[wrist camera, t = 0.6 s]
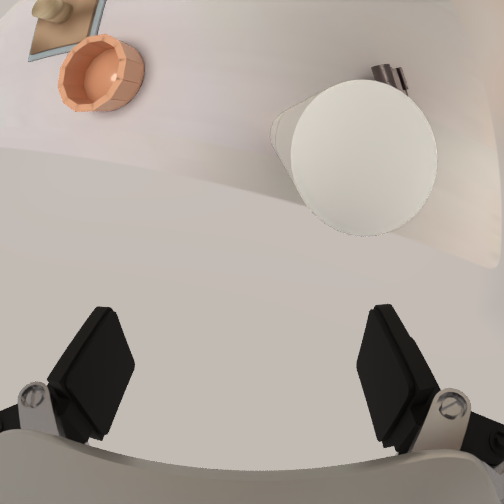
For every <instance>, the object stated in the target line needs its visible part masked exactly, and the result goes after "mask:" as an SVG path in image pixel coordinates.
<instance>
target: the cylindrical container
mask: <svg viewBox="0 0 504 504" xmlns="http://www.w3.org/2000/svg"><path fill="white" fill-rule="evenodd" d="M270 139H271V143H272V146H273V148H274V150H275V151H276V153H277V155H278V157H279V158H280V160H281V162H282V163H283V165H284V167H285V169H286V170H287V172H288V174H289V176H290V178H291V179H292V181H293V183H294V185H295V187H296V188H297V190H298V192H299V194H300V196H301V198H302V199H303V201H304V202H305V204H306V205H307V206H308V208H309V209H310V210H311V211H312V213H313V214H314V215H316V216H317V217H318V218H319V219H320V220H321V221H322V222H324V223H325V224H326V225H328V226H330V227H332V228H334V229H336V230H337V231H340V232H343V233H346V234H349V235H357V236H376V235H380V234H384V233H388V232H390V231H393V230H395V229H397V228H399V227H401V226H402V225H404V224H405V223H406V222H408V221H409V220H410V219H411V218H413V217H414V216H415V215H416V213H417V212H418V211H419V210H420V209H421V208H422V207H423V205H424V203H425V202H426V200H427V198H428V197H429V195H430V192H431V190H432V187H433V185H434V181H435V176H436V172H437V149H436V142H435V138H434V135H433V132H432V129H431V126H430V124H429V123H428V121H427V119H426V117H425V115H424V114H423V112H422V111H421V110H420V108H419V107H418V106H417V105H416V104H415V103H414V101H413V100H411V99H410V98H409V97H408V96H407V95H405V94H404V93H403V92H401V91H400V90H398V89H396V88H394V87H392V86H390V85H388V84H385V83H381V82H378V81H373V80H362V79H360V80H352V81H345V82H342V83H340V84H337V85H335V86H332V87H330V88H328V89H326V90H324V91H322V92H320V93H318V94H316V95H314V96H312V97H310V98H308V99H306V100H304V101H303V102H301V103H299V104H297V105H295V106H293V107H292V108H290V109H288V110H286V111H284V112H283V113H281V114H280V115H279V116H278V117H277V118H276V119H275V121H274V122H273V124H272V127H271V132H270Z"/></svg>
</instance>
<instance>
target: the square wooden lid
mask: <svg viewBox="0 0 504 504" xmlns="http://www.w3.org/2000/svg"><path fill="white" fill-rule="evenodd" d="M98 2H99V0H37V2H36V3H35V5H34V6H33V9H32V15H33V16H34V17H38V18H39V19H38V22H37V26H36V30H35V34H34V38H33V42H32V46H31V51H30V55H34V54H38V53H41V52H45V51H49V50H53V49H57V48H61V47H65V46H69V45H74V44H79V43H80V42H81V41H83V40H84V39H86V38H87V37H89V36H90V32H91V28H92V24H93V20H94V16H95V13H96V9H97V6H98Z"/></svg>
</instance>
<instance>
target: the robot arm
mask: <svg viewBox="0 0 504 504" xmlns="http://www.w3.org/2000/svg"><path fill="white" fill-rule="evenodd" d="M134 367H135V362H134V359H133V357H132V354H131V351H130V349H129V346H128V344H127V341H126V338H125V336H124V333H123V330H122V328H121V325H120V322H119V319H118V316H117V314H116V312H114V311H113V310H112V309H111V308H110V307H96V308H95V309H94V311H93V312H92V313H91V315H90V316H89V318H88V319H87V320H86V322H85V323H84V324H83V326H82V327H81V329H80V330H79V331H78V333H77V334H76V336H75V337H74V339H73V340H72V342H71V343H70V344H69V346H68V347H67V349H66V350H65V352H64V353H63V355H62V356H61V358H60V359H59V361H58V362H57V364H56V365H55V367H54V368H53V370H52V372H51V373H50V375H49V377H48V378H47V380H48V382H49V383H48V385H47V386H46V385H45V384H44V383H42V382H32V383H30V384H28V385H26V386H25V387H24V388H23V389H22V390H21V391H20V393H19V396H18V404H16V405H13V406H11V407H9V408H6V409H4V410H2V411H0V504H504V425H503V424H501V423H498V422H496V421H493V420H491V419H488V418H486V417H484V416H481V415H479V414H476V413H474V412H472V411H471V403H470V400H469V399H468V397H467V396H466V395H465V394H464V393H463V392H461V391H459V390H457V389H453V388H447V389H443V390H440V388H439V386H438V384H437V382H436V380H435V378H434V376H433V374H432V372H431V370H430V368H429V366H428V364H427V363H426V361H425V359H424V357H423V355H422V354H421V351H420V350H419V348H418V346H417V345H416V342H415V341H414V340H413V338H411V337H410V336H409V334H408V332H407V330H406V329H405V327H404V325H403V323H402V322H401V320H400V318H399V317H398V315H397V313H396V312H395V310H394V308H393V307H392V305H391V304H383V305H376V306H375V307H374V309H373V310H372V309H371V310H370V311H369V315H368V320H367V324H366V328H365V332H364V336H363V340H362V344H361V348H360V352H359V355H358V359H357V372H358V375H359V378H360V381H361V385H362V388H363V391H364V395H365V398H366V401H367V405H368V408H369V412H370V415H371V419H372V422H373V425H374V430H375V433H376V437H377V440H378V441H379V442H380V441H382V443H383V447H384V448H387V447H391V446H394V447H395V450H396V451H397V454H396V455H395V456H391V457H386V458H381V459H376V460H371V461H365V462H359V463H353V464H346V465H338V466H331V467H322V468H312V469H301V470H300V469H299V470H279V471H239V470H218V469H207V468H196V467H188V466H180V465H173V464H166V463H160V462H155V461H149V460H144V459H139V458H134V457H130V456H125V455H121V454H117V453H113V452H109V451H106V450H102V449H99V448H95V447H91V446H89V443H88V439H89V437H90V438H93V439H97V440H100V441H102V440H103V437H104V435H106V434H108V432H109V430H110V427H111V425H112V422H113V420H114V417H115V414H116V412H117V410H118V407H119V404H120V402H121V400H122V397H123V395H124V392H125V390H126V387H127V385H128V383H129V380H130V378H131V376H132V373H133V371H134Z"/></svg>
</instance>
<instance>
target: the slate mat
mask: <svg viewBox="0 0 504 504" xmlns="http://www.w3.org/2000/svg"><path fill="white" fill-rule="evenodd" d="M105 3H106V0H99V2H98V6H97V9H96V13H95V16H94V20H93V24H92V28H91V32H90V36H95V35H97V33H98V29H99V25H100V21H101V17H102V13H103V10H104V6H105ZM38 19H39V18H38ZM37 22H38V21H37ZM36 26H37V24H36ZM35 30H36V28H35ZM34 34H35V32H34ZM90 36H89V37H90ZM33 38H34V36H33ZM32 42H33V40H32ZM76 45H77V44H74V45H69V46H65V47H61V48H57V49H53V50H49V51H45V52H41V53H38V54H34V55H30V53H29V58H28V62H31V61H34V60H38V59H42V58H45V57H49V56H54V55H58V54H62V53H67V52H70V51H71V49H72V48H74V47H75V46H76ZM31 46H32V44H31ZM30 51H31V49H30Z"/></svg>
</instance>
